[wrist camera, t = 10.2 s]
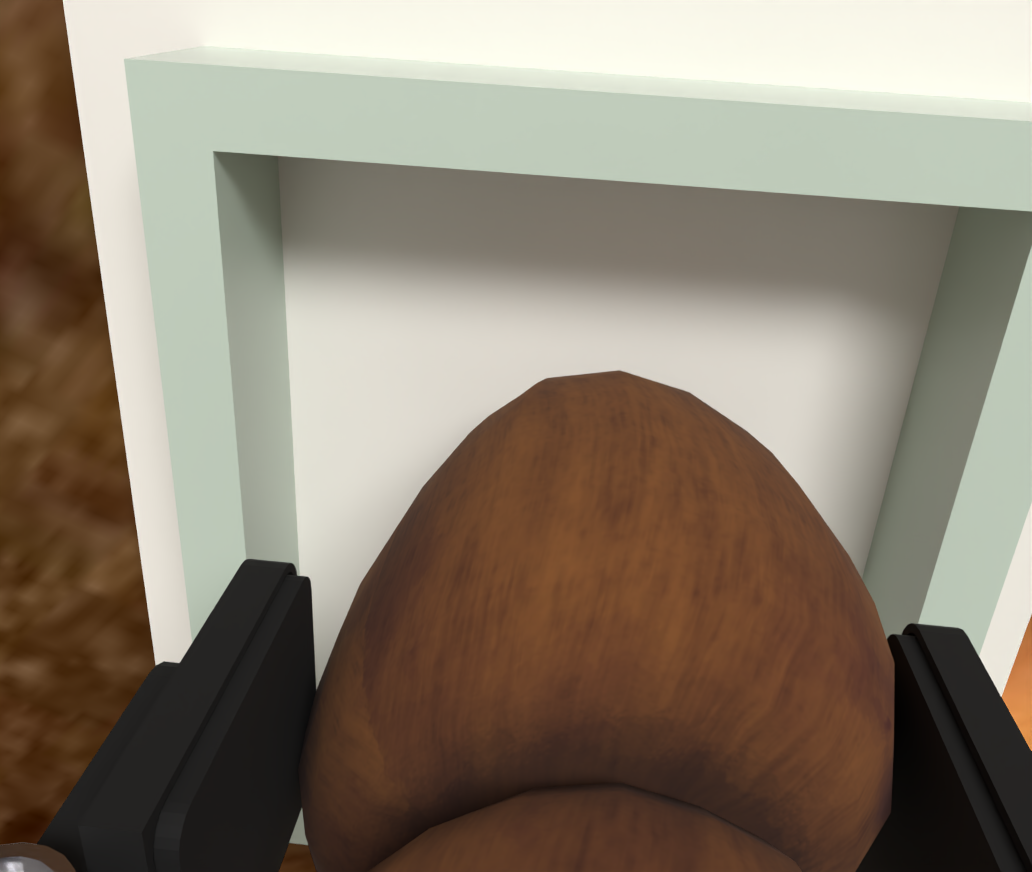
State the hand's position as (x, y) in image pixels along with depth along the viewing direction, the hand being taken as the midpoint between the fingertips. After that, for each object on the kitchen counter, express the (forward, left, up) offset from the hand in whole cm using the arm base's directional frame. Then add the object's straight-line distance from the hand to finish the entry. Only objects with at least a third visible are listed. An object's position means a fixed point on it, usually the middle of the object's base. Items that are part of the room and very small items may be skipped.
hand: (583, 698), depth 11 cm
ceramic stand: (0, 0, -7) cm, 7 cm away
